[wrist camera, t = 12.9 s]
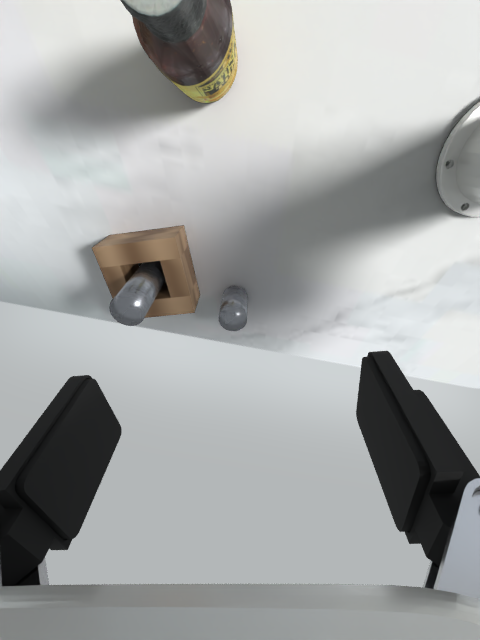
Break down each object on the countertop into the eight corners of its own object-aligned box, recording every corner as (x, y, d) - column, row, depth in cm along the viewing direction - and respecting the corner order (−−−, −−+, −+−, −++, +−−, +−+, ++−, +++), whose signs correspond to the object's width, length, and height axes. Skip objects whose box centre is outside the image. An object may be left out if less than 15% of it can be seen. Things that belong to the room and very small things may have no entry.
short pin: (245, 284, 42) (244, 305, 36) (248, 306, 43) (248, 329, 38) (220, 287, 42) (216, 308, 37) (224, 309, 44) (221, 332, 39)
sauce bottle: (224, 116, 31) (191, 95, 14) (167, 85, 30) (59, 25, 13) (250, 38, 28) (247, -105, 11) (187, 1, 27) (77, -224, 10)
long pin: (167, 252, 39) (138, 293, 29) (173, 277, 41) (149, 324, 31) (141, 255, 40) (104, 297, 30) (149, 279, 42) (116, 327, 31)
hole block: (183, 225, 37) (175, 237, 33) (200, 294, 43) (194, 312, 38) (109, 235, 38) (91, 247, 34) (134, 301, 44) (121, 320, 39)
